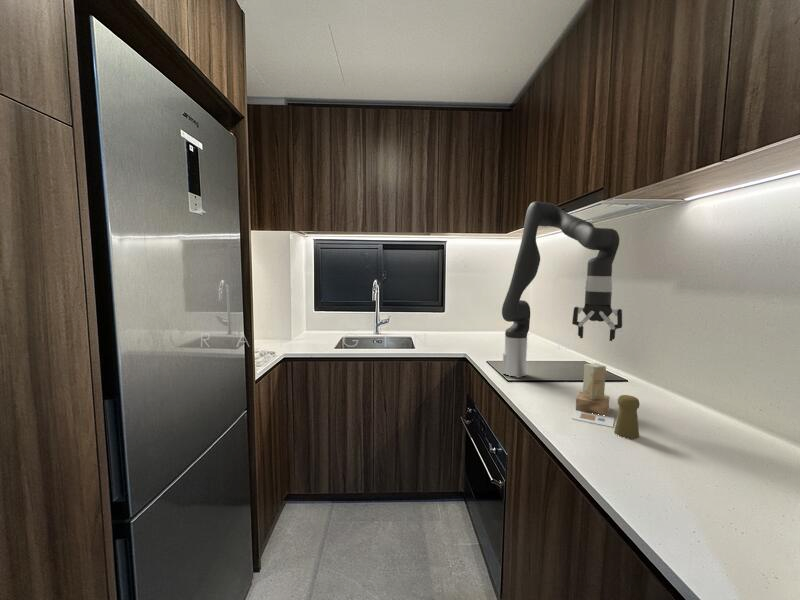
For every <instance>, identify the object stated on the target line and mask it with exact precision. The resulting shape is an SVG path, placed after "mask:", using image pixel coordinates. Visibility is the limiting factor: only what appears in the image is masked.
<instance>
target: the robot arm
mask: <svg viewBox="0 0 800 600" xmlns="http://www.w3.org/2000/svg"><path fill="white" fill-rule="evenodd" d="M523 224H524V225H523V229H522V230H523V231H522V237H521V241H520V245H519V250H518V252H517V258H516V260H515V264H514V270H513V273H512V277H511V279H510V284H509V287H508V290H507V293H506V296H505V298H504V301H503V302H502V303H503V304H502V307H501V316H502V319H503V320H504V321H505V322H509V323H512V325H511V326H510V327H509V328H507V329H506V330H505V333H504V353H503V354H502V356H503V357H502V358H503V359H502V375H503V374H506V375H509V376H508V377H510V376H519V377H518V378H521V377H520V376H525V375H527V348H528V346H527V345H528V334H529V331H530V324H531V323H530V322H531V306H530V304H529V303H528V302H527V301H526V300H522V299H521V298H522V295H523V292H525V290H526V288H527V287H529V286H530V284H531V283H533V280H534V279H535V278H536V276H537V273H538V270H539V267H540V263H541V255H540V250H539V247H538V244H537V233H538V228H539V227H552V228H558V229H560V230H561V232H562V233H563V234H564V235H565V236H566V237H568V238H571V239H573V240H575V241H577V242H578V243H579V244H580V245H582V247H584V248H586V249H588V250H591V251H598V253H597V256H595V257H593V258H590V259H589V260H588V262H587V269H586V270H587V272H586V281H585V288H584V289H585V293H584V307H580V306H574V307H573V313H572V322H571V323H572V325H575V326H577V336H578V337H579V338H580V339H583V338H584V325H585V324H586V323H587V322H588V321H591V322H605V323H606V324H607V325H608V327H609V328H610V329H609V342H612V341H613V340H615V338H616V330H618V329H621V328H623V310H622V309H621V308H617V309H613V308H612V294H613V278H612V274H613V263H614V261H615V257H616V255H617V252H618V249H619V246H620V240H621V239H620V234H619V233H618V231H617V230H615V229H614V228H611V227H610V228H608V227H606V228H605V227H596V226H594V224H593V223H591V222H590V221H588V220H585V219H582V218H580V217H577V216H575V215H572V214H569V213H568V212H566V211H565V210H563V209H562V208H560V207H559V206H558V205H556V204H554V203H552V202H546V201H545V202H543V201H533V202H531V203H530V204H529V206H528V207H527V210H526V213H525V218H524V223H523ZM581 312H583V313H584V315H585V316H584V317H583V318H582V319H581V321H578V317H579V315H580V314H581ZM611 314H614V316H615V317H617V321H616V322H617V324H614V322H613V321H612V320H611V318H610V316H611ZM506 375H505V376H506ZM525 377H526V376H525Z"/></svg>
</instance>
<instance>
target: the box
mask: <svg viewBox="0 0 800 600" xmlns="http://www.w3.org/2000/svg"><path fill="white" fill-rule="evenodd" d="M583 367H584V368H583V381H582V382H583V384H582V392H583V396H585V397H587V398H589V399H592V400H595V399H604V395H605V388H606V387H605V386H606V371H607V370H606V369H607V366H606V365H604V364H600V363H597V362H592V363H585V364H584V365H583Z"/></svg>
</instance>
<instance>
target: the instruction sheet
mask: <svg viewBox="0 0 800 600" xmlns="http://www.w3.org/2000/svg"><path fill="white" fill-rule="evenodd" d="M571 420H575V421H580V422H584V423H589V424H594V425H599V426H603V427H610V428H614V425H615V424H614V423H615V417H613V416H608V415H607V416H603V415H598V414H592V413H587V412H582V411H577V410H576V409H575V411H574V412H573V415H572V417H571Z"/></svg>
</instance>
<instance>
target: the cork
mask: <svg viewBox="0 0 800 600" xmlns="http://www.w3.org/2000/svg"><path fill="white" fill-rule="evenodd" d="M617 405H618V406H619V408H618V413H617V418H616V422H615V426H614V432H613V433H614V434H615V435H616V434H617V436H618V435H619V436H618V437H620V436H621V438H623V437H625V438H624V439H627V438H629V439H628V440H638V439H640V430H639V420H638V418H639V417H638V409H640V405H641V404H640V400H639V399H638V397H635V396H633V395H629V394H622V395H619V396H618V397H617Z"/></svg>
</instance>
